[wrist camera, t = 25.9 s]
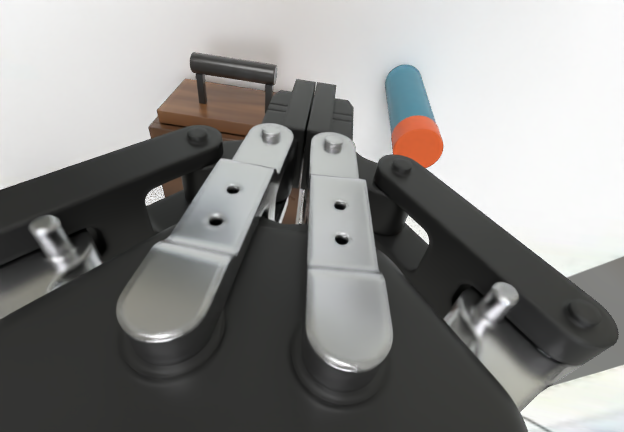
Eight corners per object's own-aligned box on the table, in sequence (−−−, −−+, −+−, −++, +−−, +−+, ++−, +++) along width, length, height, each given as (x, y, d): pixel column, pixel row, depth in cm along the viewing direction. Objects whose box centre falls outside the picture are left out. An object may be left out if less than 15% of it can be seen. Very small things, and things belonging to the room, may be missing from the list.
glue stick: (380, 96, 35) (387, 166, 27) (390, 61, 33) (400, 125, 24) (415, 102, 35) (433, 173, 27) (427, 66, 33) (451, 133, 24)
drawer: (178, 31, 32) (145, 58, 27) (313, 52, 32) (304, 83, 27) (202, 206, 47) (184, 244, 42) (294, 220, 47) (286, 259, 42)
